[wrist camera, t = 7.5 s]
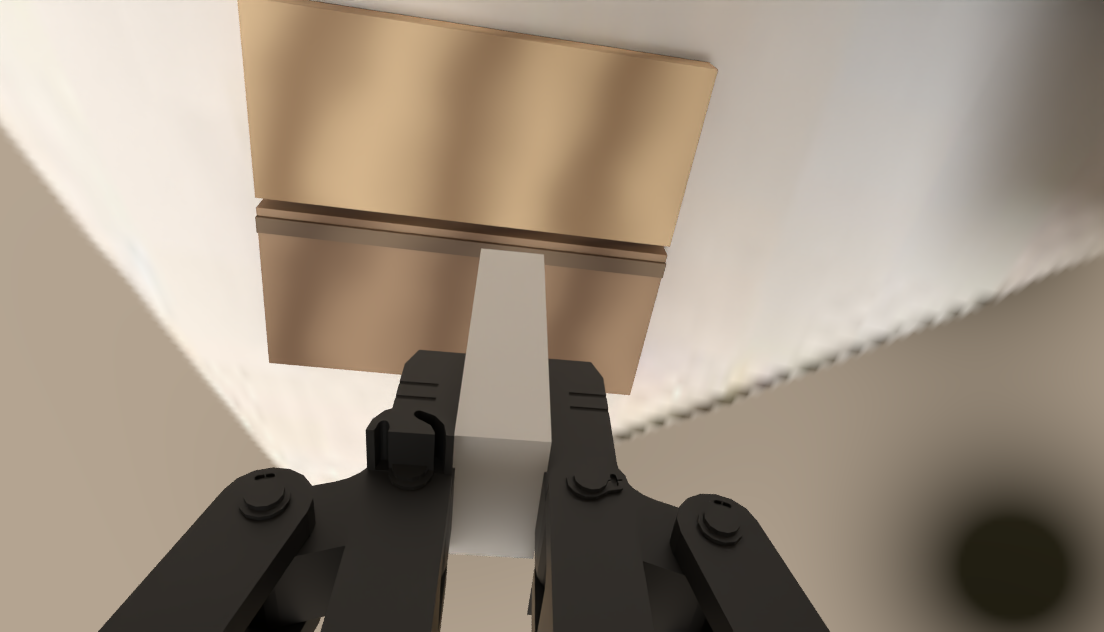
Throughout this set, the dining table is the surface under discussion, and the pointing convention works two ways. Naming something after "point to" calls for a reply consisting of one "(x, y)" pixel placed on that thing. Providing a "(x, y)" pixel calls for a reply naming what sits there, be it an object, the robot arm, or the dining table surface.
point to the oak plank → (468, 121)
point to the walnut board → (439, 289)
